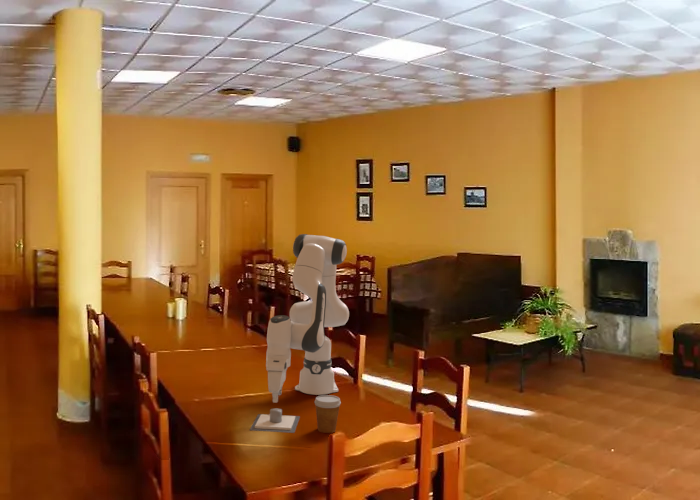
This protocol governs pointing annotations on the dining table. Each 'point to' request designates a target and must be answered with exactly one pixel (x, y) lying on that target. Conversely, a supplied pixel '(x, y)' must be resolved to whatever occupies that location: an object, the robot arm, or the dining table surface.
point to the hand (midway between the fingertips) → (277, 398)
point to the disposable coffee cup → (327, 412)
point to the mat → (275, 429)
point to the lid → (275, 420)
